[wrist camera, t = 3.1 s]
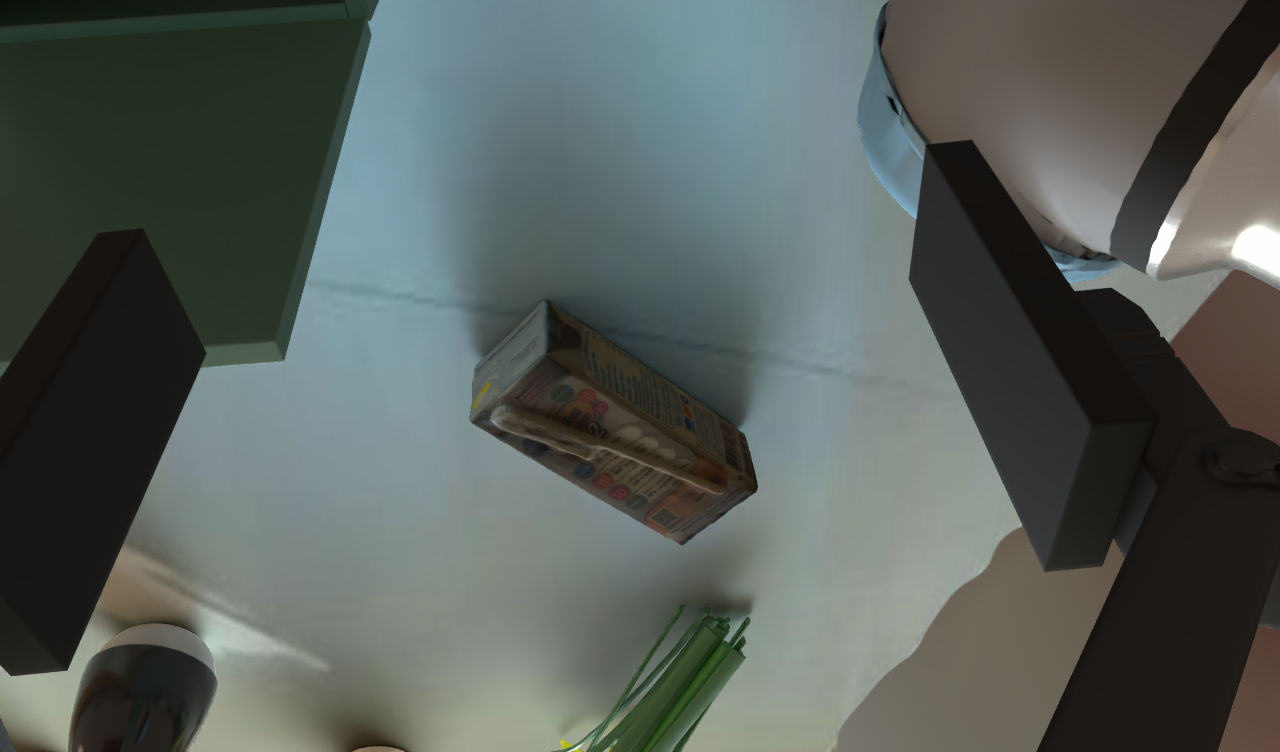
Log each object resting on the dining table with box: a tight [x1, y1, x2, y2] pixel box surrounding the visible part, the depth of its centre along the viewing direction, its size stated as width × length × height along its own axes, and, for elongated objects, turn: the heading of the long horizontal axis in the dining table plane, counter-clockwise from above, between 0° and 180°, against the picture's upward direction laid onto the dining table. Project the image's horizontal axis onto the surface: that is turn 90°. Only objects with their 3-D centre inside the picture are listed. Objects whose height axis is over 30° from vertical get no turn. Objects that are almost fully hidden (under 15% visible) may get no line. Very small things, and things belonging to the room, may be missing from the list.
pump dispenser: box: [68, 623, 218, 752], centre depth 76 cm, size 10×10×15 cm
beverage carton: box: [469, 300, 758, 545], centre depth 63 cm, size 8×19×7 cm, turn 47°
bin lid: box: [0, 17, 371, 378], centre depth 30 cm, size 17×16×1 cm
